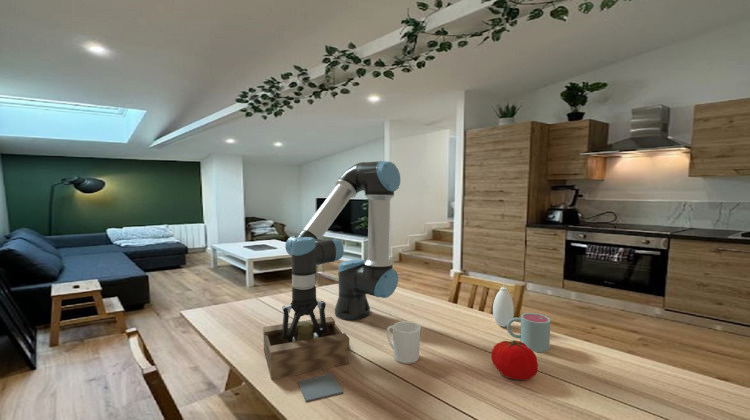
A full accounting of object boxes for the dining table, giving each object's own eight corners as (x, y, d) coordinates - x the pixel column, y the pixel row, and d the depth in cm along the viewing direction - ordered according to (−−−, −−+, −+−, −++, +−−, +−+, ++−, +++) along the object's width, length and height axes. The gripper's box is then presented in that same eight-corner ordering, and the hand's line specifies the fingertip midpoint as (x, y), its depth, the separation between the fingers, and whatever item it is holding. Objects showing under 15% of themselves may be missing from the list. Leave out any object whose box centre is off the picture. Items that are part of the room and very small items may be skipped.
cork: (310, 362, 111) (309, 327, 110) (292, 360, 112) (291, 326, 111) (317, 353, 117) (316, 320, 116) (300, 351, 118) (299, 319, 117)
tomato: (534, 390, 96) (536, 354, 95) (486, 377, 102) (487, 342, 102) (540, 372, 105) (541, 338, 104) (496, 360, 112) (497, 329, 111)
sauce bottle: (491, 328, 137) (492, 282, 136) (493, 321, 144) (494, 277, 143) (513, 331, 134) (514, 284, 133) (513, 323, 141) (515, 279, 140)
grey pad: (332, 374, 104) (332, 373, 104) (342, 393, 94) (342, 391, 94) (297, 382, 100) (297, 380, 100) (305, 402, 90) (305, 400, 90)
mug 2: (548, 343, 124) (549, 315, 124) (549, 354, 116) (550, 324, 115) (507, 336, 130) (508, 309, 129) (505, 346, 122) (506, 318, 121)
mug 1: (422, 353, 116) (423, 323, 116) (417, 367, 108) (417, 334, 107) (390, 348, 120) (390, 319, 119) (382, 361, 112) (382, 329, 111)
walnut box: (331, 338, 128) (331, 316, 128) (349, 363, 110) (349, 338, 110) (263, 350, 119) (263, 327, 118) (271, 379, 101) (270, 352, 100)
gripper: (330, 280, 120) (330, 345, 122) (270, 286, 112) (272, 356, 114) (337, 285, 113) (337, 355, 115) (274, 293, 105) (275, 367, 107)
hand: (304, 355), depth 114 cm, fingers open, 7 cm apart
